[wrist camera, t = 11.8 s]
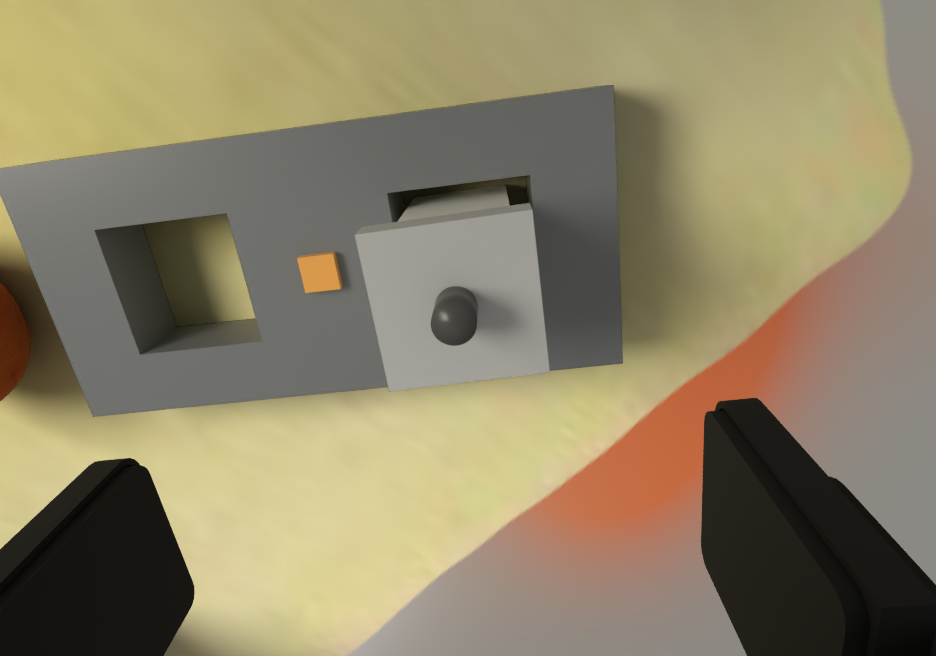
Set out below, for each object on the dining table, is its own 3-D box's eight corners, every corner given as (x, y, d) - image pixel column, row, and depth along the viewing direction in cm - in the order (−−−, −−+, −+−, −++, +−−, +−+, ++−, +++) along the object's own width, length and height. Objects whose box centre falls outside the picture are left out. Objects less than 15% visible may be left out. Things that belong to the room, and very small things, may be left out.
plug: (399, 187, 28) (342, 247, 17) (516, 169, 27) (536, 220, 16) (420, 297, 30) (381, 415, 19) (529, 282, 29) (555, 395, 18)
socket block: (48, 160, 28) (-18, 171, 24) (597, 86, 26) (615, 84, 22) (132, 384, 32) (87, 420, 29) (608, 334, 30) (624, 367, 27)
